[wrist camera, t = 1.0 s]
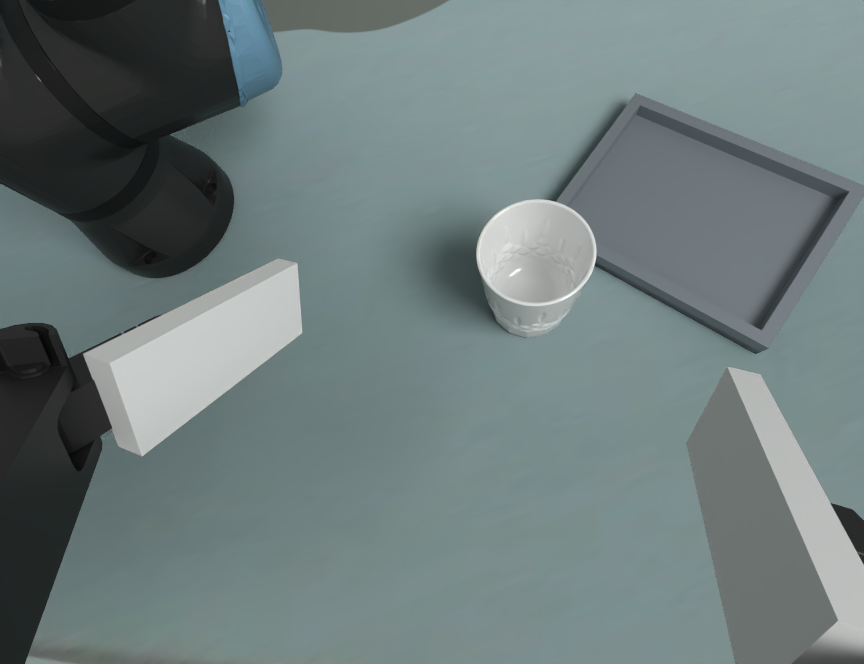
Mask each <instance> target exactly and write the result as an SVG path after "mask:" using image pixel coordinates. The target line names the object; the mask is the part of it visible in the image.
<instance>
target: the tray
mask: <svg viewBox="0 0 864 664" xmlns="http://www.w3.org/2000/svg"><path fill="white" fill-rule="evenodd" d="M863 197H864V185H861V184H859V183H856V182H854V181H852V180H849V179H847V178H844V177H842V176H839V175H837V174H834V173H832V172H829V171H827V170H824V169H822V168H819V167H817V166H814V165H812V164H809V163H807V162H805V161H802V160H800V159H797V158H795V157H792V156H790V155H787V154H785V153H782V152H780V151H777V150H775V149H772V148H770V147H767V146H765V145H762V144H760V143H758V142H755V141H753V140H750V139H748V138H745V137H743V136H740V135H738V134H735V133H733V132H730V131H728V130H725V129H723V128H720V127H718V126H715V125H713V124H711V123H708V122H706V121H703V120H701V119H698V118H696V117H693V116H691V115H688V114H686V113H683V112H681V111H678V110H676V109H673V108H671V107H668V106H666V105H664V104H661V103H659V102H656V101H654V100H651V99H649V98H646V97H644V96H641V95H639V94H635V95H634V96H633V98H632V99H631V100H630V102H629V103H628V104H627V106H626V107H625V109H624V110H623V111H622V113H621V114H620V115H619V117H618V118H617V119H616V121H615V122H614V123H613V125H612V126H611V127H610V129H609V130H608V132H607V133H606V134H605V136H604V137H603V138H602V140H601V141H600V142H599V144H598V145H597V146H596V148H595V149H594V150H593V152H592V153H591V155H590V156H589V157H588V159H587V160H586V161H585V163H584V164H583V165H582V167H581V168H580V169H579V171H578V172H577V173H576V175H575V176H574V177H573V179H572V180H571V182H570V183H569V184H568V186H567V187H566V188H565V190H564V191H563V192H562V194H561V195H560V196H559V198H558V199H557V200H556V202H558V203H561V204H563V205H565V206H567V207H569V208H571V209H573V210H574V211H575V212H577V213H578V214H579V215H580V216H581V217H582V218H583V219H584V220H585V221H586V222H587V224H588V225H589V227H590V229H591V230H592V233H593V235H594V238H595V242H596V251H597V253H596V262H595V266H597V267H599V268H601V269H603V270H605V271H606V272H608V273H610V274H612V275H614V276H615V277H617V278H619V279H621V280H623V281H625V282H626V283H628V284H630V285H632V286H634V287H635V288H637V289H639V290H641V291H643V292H645V293H646V294H648V295H650V296H652V297H654V298H655V299H657V300H659V301H661V302H663V303H664V304H666V305H668V306H670V307H672V308H674V309H675V310H677V311H679V312H681V313H683V314H684V315H686V316H688V317H690V318H692V319H694V320H695V321H697V322H699V323H701V324H703V325H704V326H706V327H708V328H710V329H712V330H714V331H715V332H717V333H719V334H721V335H723V336H724V337H726V338H728V339H730V340H732V341H734V342H735V343H737V344H739V345H741V346H743V347H744V348H746V349H748V350H750V351H752V352H753V353H755V354H757V353H759V352H761V351H764V350H766V349H768V348H769V347H770V346H771V344H772V342H773V341H774V339H775V338H776V336H777V334H778V333H779V331H780V330H781V328H782V326H783V325H784V323H785V322H786V320H787V318H788V317H789V315H790V314H791V312H792V310H793V309H794V307H795V306H796V304H797V302H798V301H799V299H800V298H801V296H802V294H803V293H804V291H805V290H806V288H807V286H808V285H809V283H810V282H811V280H812V278H813V277H814V275H815V273H816V272H817V270H818V269H819V267H820V265H821V264H822V262H823V261H824V259H825V257H826V256H827V254H828V253H829V251H830V249H831V248H832V246H833V245H834V243H835V241H836V240H837V238H838V237H839V235H840V233H841V232H842V230H843V229H844V227H845V225H846V224H847V222H848V221H849V219H850V217H851V216H852V214H853V213H854V211H855V209H856V208H857V206H858V205H859V203H860V201H861V200H862V198H863Z"/></svg>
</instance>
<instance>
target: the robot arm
mask: <svg viewBox="0 0 864 664" xmlns="http://www.w3.org/2000/svg"><path fill="white" fill-rule="evenodd" d="M281 75H282V62H281V58H280V54H279V50H278V47H277V44H276V40H275V37H274V34H273V31H272V28H271V26H270V23H269V20H268V17H267V14H266V11H265V8H264V6H263V3H262V0H0V183H1V184H3V185H4V186H6V187H8V188H10V189H12V190H14V191H16V192H18V193H20V194H22V195H24V196H26V197H27V198H29V199H31V200H33V201H35V202H37V203H39V204H41V205H43V206H45V207H47V208H49V209H51V210H53V211H54V212H56V213H58V214H60V215H62V216H64V217H65V218H67V219H69V220H71V221H72V222H73V223H74V224H75V225H76V226H77V227H78V228H79V229H80V230H81V231H82V232H83V233H84V234H85V236H86V237H87V238H88V239H89V240H90V241H91V242H92V243H93V244H94V245H95V246H96V247H97V248H98V249H99V250H100V251H101V252H102V253H103V254H104V255H105V256H106V257H107V258H108V259H109V260H111V261H112V262H113V263H115V264H116V265H118V266H120V267H122V268H124V269H126V270H128V271H130V272H132V273H134V274H137V275H139V276H143V277H149V278H161V277H167V276H172V275H175V274H178V273H180V272H183V271H185V270H187V269H189V268H191V267H192V266H194V265H195V264H197V263H198V262H200V261H201V260H202V259H203V258H205V257H206V256H207V255H208V254H209V253H210V252H211V251H212V250H213V249H214V248H215V246H216V245H217V244H218V242H219V241H220V240H221V238H222V237H223V235H224V233H225V231H226V229H227V227H228V225H229V222H230V219H231V216H232V212H233V205H234V195H233V189H232V185H231V182H230V180H229V178H228V176H227V175H226V173H225V172H224V171H223V170H222V169H221V168H220V167H219V166H218V165H217V164H216V163H215V162H214V161H213V160H212V159H211V158H210V157H209V156H208V155H206V154H205V153H204V152H202V151H200V150H199V149H197V148H195V147H193V146H191V145H189V144H187V143H185V142H183V141H180V140H178V139H176V138H174V137H172V136H170V135H169V134H172V133H174V132H177V131H179V130H182V129H184V128H187V127H189V126H191V125H194V124H196V123H199V122H201V121H204V120H206V119H209V118H211V117H214V116H216V115H219V114H221V113H224V112H226V111H228V110H231V109H233V108H236V107H238V106H241V107H243V106H244V105H246V104H247V101H249V100H251V99H253V98H255V97H257V96H259V95H261V94H263V93H265V92H267V91H269V90H271V89H273V88H274V87H275V86H276V85H277V84H278V83H279V80H280V78H281ZM300 334H302V322H301V308H300V294H299V280H298V266H297V263H295V262H291V261H287V260H282V259H276V260H274V261H272V262H270V263H268V264H266V265H264V266H262V267H260V268H258V269H256V270H254V271H251V272H249V273H247V274H245V275H243V276H241V277H239V278H237V279H235V280H233V281H231V282H229V283H227V284H225V285H223V286H221V287H219V288H217V289H215V290H213V291H211V292H209V293H207V294H204V295H202V296H200V297H198V298H196V299H194V300H192V301H190V302H188V303H186V304H184V305H182V306H180V307H178V308H176V309H174V310H172V311H170V312H168V313H166V314H163V315H159V316H156V317H153V318H151V319H149V320H147V321H145V322H143V323H141V324H139V325H138V327H133V328H131V329H129V330H127V331H125V332H124V334H121V333H120V334H118V335H116V336H114V337H112V338H110V339H108V340H106V341H104V342H102V343H100V344H98V345H96V346H94V347H92V348H90V349H87V350H85V351H83V352H81V353H79V354H77V355H75V356H73V357H71V358H69V359H68V357H67V354H66V352H65V349H64V347H63V344H62V342H61V339H60V337H59V334H58V332H57V329H55V328H54V327H53V326H52V325H49V324H44V323H27V324H20V325H13V326H10V327H6V328H3V329H0V664H25V662H26V659H27V656H28V653H29V650H30V648H31V645H32V642H33V639H34V637H35V634H36V631H37V628H38V625H39V623H40V620H41V617H42V614H43V612H44V609H45V606H46V603H47V600H48V598H49V595H50V592H51V589H52V587H53V584H54V581H55V578H56V575H57V573H58V570H59V567H60V564H61V562H62V559H63V556H64V553H65V550H66V548H67V545H68V542H69V539H70V537H71V534H72V531H73V528H74V525H75V523H76V520H77V517H78V514H79V512H80V509H81V506H82V503H83V500H84V498H85V495H86V492H87V489H88V487H89V484H90V481H91V478H92V476H93V473H94V470H95V467H96V464H97V462H98V459H99V456H100V453H101V451H102V441H101V438H100V436H101V435H102V434H104V433H105V432H107V431H108V430H110V429H112V431H113V434H114V437H115V439H116V442H117V444H118V447H121V448H123V449H125V450H128V451H130V452H133V453H135V454H137V455H140V456H143V455H145V454H146V453H147V452H148V451H150V450H151V449H152V448H154V447H155V446H156V445H158V444H159V443H160V442H161V441H163V440H164V439H165V438H167V437H168V436H169V435H171V434H172V433H173V432H174V431H176V430H177V429H178V428H180V427H181V426H182V425H184V424H185V423H186V422H187V421H189V420H190V419H191V418H193V417H194V416H195V415H196V414H198V413H199V412H200V411H202V410H203V409H204V408H206V407H207V406H208V405H209V404H211V403H212V402H213V401H215V400H216V399H217V398H219V397H220V396H221V395H222V394H224V393H225V392H226V391H228V390H229V389H230V388H232V387H233V386H234V385H235V384H237V383H238V382H239V381H241V380H242V379H243V378H245V377H246V376H247V375H248V374H250V373H251V372H252V371H254V370H255V369H256V368H257V367H259V366H260V365H261V364H263V363H264V362H265V361H267V360H268V359H269V358H270V357H272V356H273V355H274V354H276V353H277V352H278V351H280V350H281V349H282V348H283V347H285V346H286V345H287V344H289V343H290V342H291V341H293V340H294V339H295V338H296V337H298V336H299V335H300ZM686 444H687V448H688V453H689V457H690V462H691V466H692V471H693V475H694V480H695V484H696V489H697V493H698V497H699V502H700V506H701V511H702V515H703V520H704V524H705V529H706V533H707V538H708V542H709V547H710V551H711V556H712V560H713V565H714V569H715V574H716V578H717V583H718V587H719V592H720V596H721V601H722V605H723V610H724V614H725V619H726V623H727V628H728V632H729V637H730V641H731V646H732V650H733V655H734V659H735V663H736V664H864V520H863V519H862V518H861V517H860V516H859V515H858V514H857V513H856V512H855V511H854V510H852V509H849V508H845V507H842V506H839V505H835V504H832V503H830V502H829V500H828V498H827V496H826V495H825V493H824V491H823V489H822V487H821V485H820V484H819V482H818V480H817V478H816V476H815V474H814V472H813V471H812V469H811V467H810V465H809V463H808V461H807V460H806V458H805V456H804V454H803V452H802V450H801V449H800V447H799V445H798V443H797V441H796V439H795V438H794V436H793V434H792V432H791V430H790V428H789V426H788V425H787V423H786V421H785V419H784V417H783V415H782V414H781V412H780V410H779V408H778V406H777V404H776V403H775V401H774V399H773V397H772V395H771V393H770V392H769V390H768V388H767V386H766V384H765V382H764V380H763V379H762V377H761V375H760V374H756V373H752V372H748V371H744V370H740V369H735V368H731V367H727V368H726V370H725V372H724V374H723V376H722V377H721V379H720V381H719V383H718V385H717V387H716V389H715V391H714V392H713V394H712V396H711V398H710V400H709V402H708V404H707V406H706V407H705V409H704V411H703V413H702V415H701V417H700V419H699V420H698V422H697V424H696V426H695V428H694V430H693V432H692V434H691V435H690V437H689V439H688V441H687V443H686Z"/></svg>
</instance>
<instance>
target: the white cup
mask: <svg viewBox="0 0 864 664" xmlns="http://www.w3.org/2000/svg"><path fill="white" fill-rule="evenodd" d="M596 253H597V251H596V242H595V238H594V235H593V233H592V230H591V229H590V227H589V225H588V224H587V222H586V221H585V220H584V219H583V218H582V217H581V216H580V215H579V214H578V213H577V212H575V211H574V210H573V209H571V208H569V207H567V206H565V205H563V204H561V203H558V202H554V201H550V200H542V199H533V200H525V201H521V202H517V203H514V204H512V205H509V206H507V207H505V208H504V209H502V210H501V211H499V212H498V213H496V214H495V215H494V216H493V217H492V218H491V219H490V220H489V221H488V222H487V224H486V225H485V227H484V228H483V230H482V232H481V234H480V236H479V239H478V243H477V248H476V260H477V265H478V269H479V272H480V276H481V280H482V283H483V287H484V291H485V294H486V297H487V300H488V303H489V305H490V307H491V309H492V311H493V314H494V316H495V319H496V321H497V322H498V323H499V324H500V325H501V326H502V327H504V328H505V329H506V330H507V331H508V332H509V333H512V334H516V335H519V336H523V337H526V338H527V337H534V336H541V335H545V334H547V333H548V332H550V331H551V330H553V329H554V328H556V327H557V326H559V324H560V323H561V321H562V319H563V318H564V316H565V315H566V314H567V313H568V312H569V311H570V309H571V307H572V306H573V305H574V303H575V301H576V300H577V298H578V297H579V295H580V293H581V291H582V289H583V287H584V286H585V284H586V282H587V280H588V279H589V277H590V275H591V273H592V271H593V268H594V265H595V262H596Z"/></svg>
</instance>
